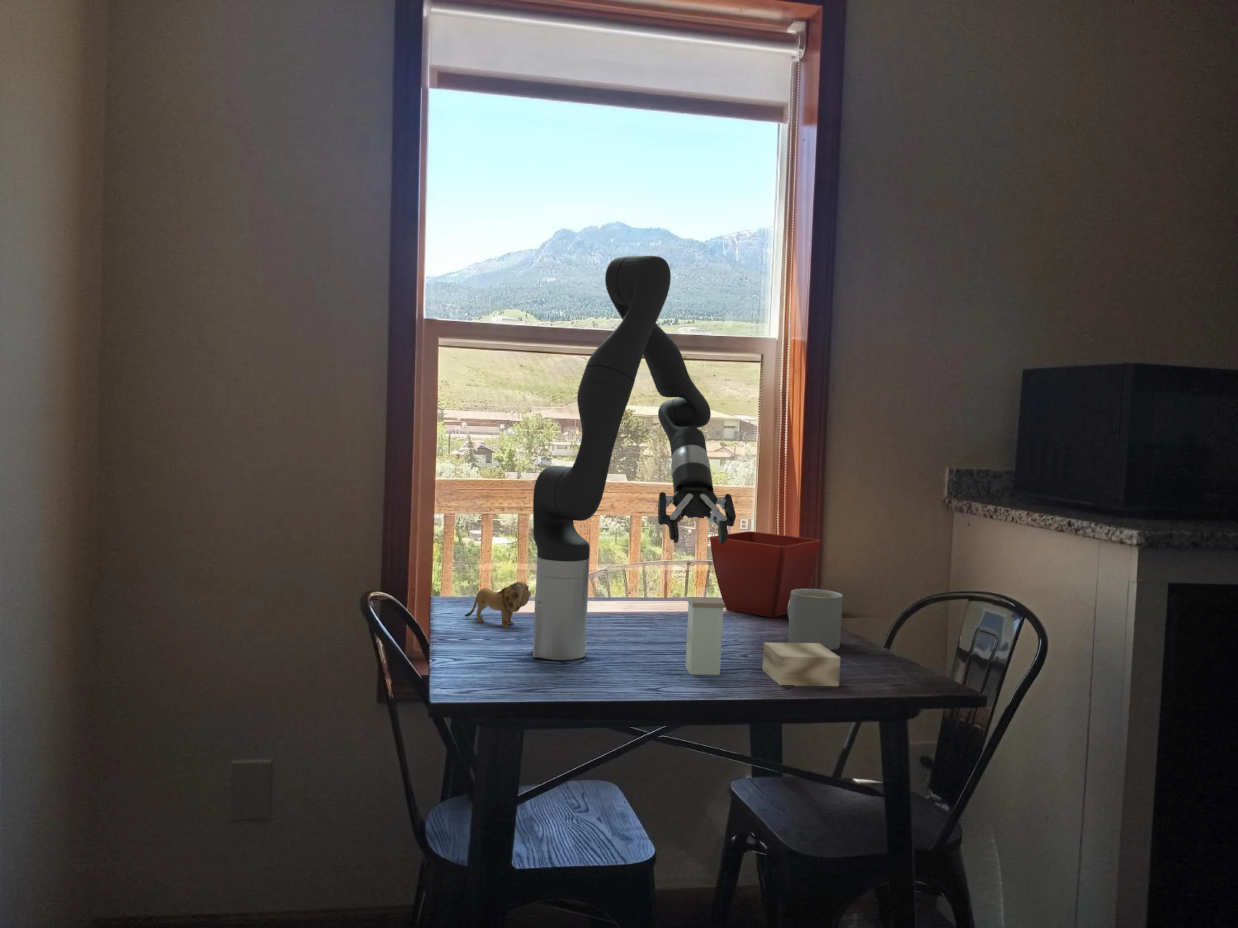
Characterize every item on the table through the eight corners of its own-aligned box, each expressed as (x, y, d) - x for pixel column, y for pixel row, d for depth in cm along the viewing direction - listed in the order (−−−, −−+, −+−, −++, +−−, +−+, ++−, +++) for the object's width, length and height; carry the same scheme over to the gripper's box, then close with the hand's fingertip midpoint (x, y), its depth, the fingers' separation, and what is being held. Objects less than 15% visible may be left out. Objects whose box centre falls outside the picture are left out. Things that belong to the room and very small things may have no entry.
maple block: (779, 687, 153) (781, 656, 153) (762, 671, 163) (763, 642, 163) (838, 687, 154) (840, 657, 154) (818, 671, 164) (819, 643, 164)
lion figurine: (533, 625, 190) (535, 580, 190) (521, 630, 186) (523, 584, 185) (471, 616, 196) (472, 573, 196) (457, 621, 191) (458, 576, 191)
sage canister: (689, 674, 157) (692, 602, 157) (684, 666, 163) (687, 596, 162) (721, 675, 158) (724, 603, 157) (715, 667, 163) (718, 597, 163)
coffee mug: (848, 649, 181) (851, 597, 181) (800, 650, 179) (803, 597, 179) (819, 634, 194) (821, 585, 194) (773, 634, 192) (776, 585, 192)
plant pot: (779, 623, 204) (783, 545, 203) (704, 609, 215) (708, 536, 215) (818, 611, 219) (822, 539, 218) (746, 599, 231) (749, 531, 230)
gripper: (657, 459, 179) (663, 527, 168) (731, 462, 180) (742, 528, 170) (652, 485, 185) (658, 552, 174) (724, 487, 186) (734, 554, 175)
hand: (699, 540), depth 172 cm, fingers open, 8 cm apart
